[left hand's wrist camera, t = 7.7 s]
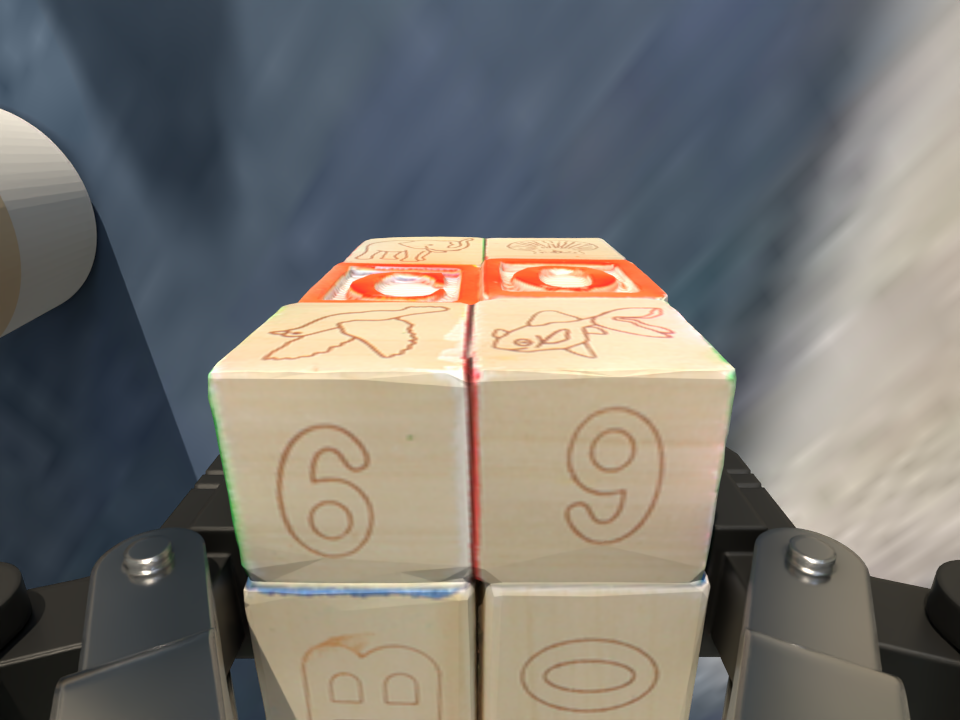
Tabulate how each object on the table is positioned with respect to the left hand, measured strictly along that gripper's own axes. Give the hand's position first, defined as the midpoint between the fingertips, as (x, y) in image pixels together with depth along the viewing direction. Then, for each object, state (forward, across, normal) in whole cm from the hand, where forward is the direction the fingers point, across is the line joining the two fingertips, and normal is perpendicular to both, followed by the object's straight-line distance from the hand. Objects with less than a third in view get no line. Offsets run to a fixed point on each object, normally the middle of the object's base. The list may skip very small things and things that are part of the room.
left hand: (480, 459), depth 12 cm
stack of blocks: (+5, 0, -7) cm, 9 cm away
